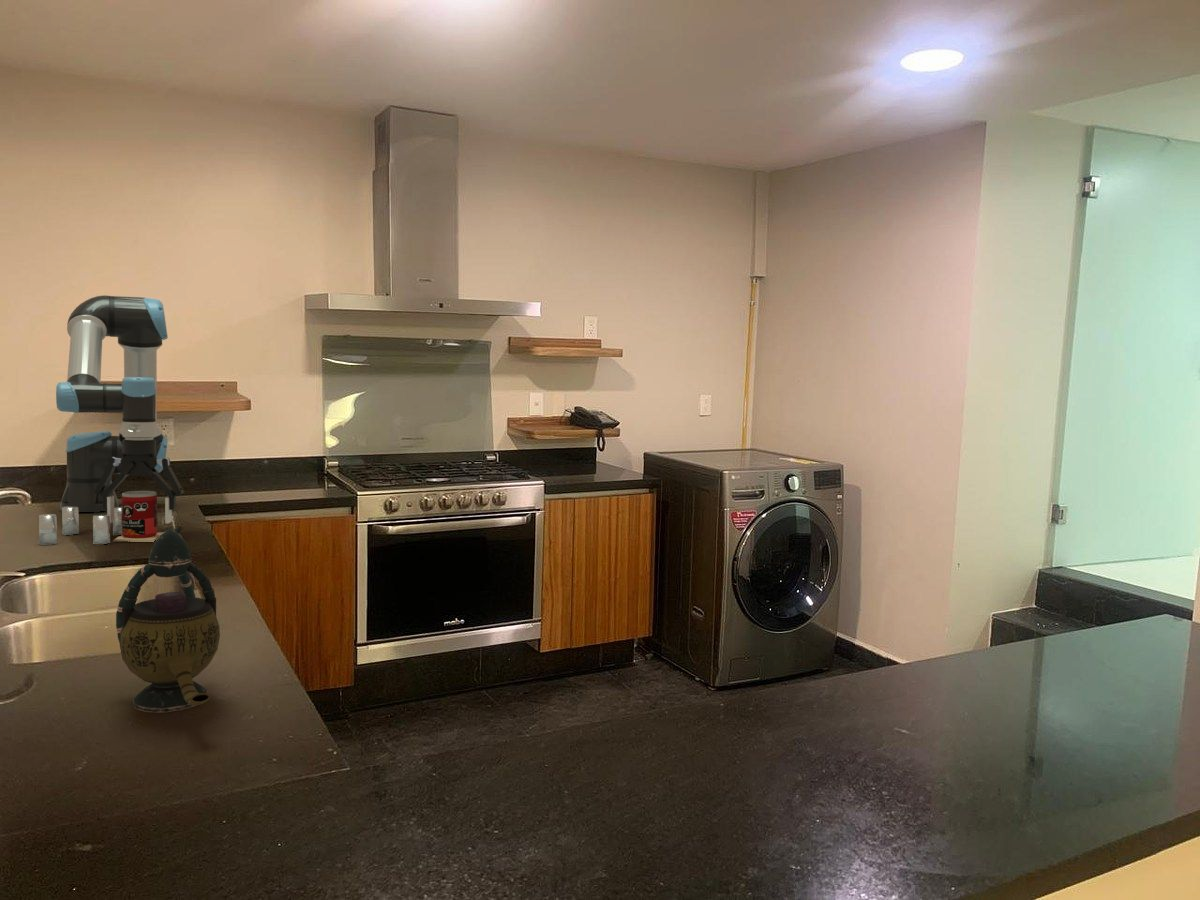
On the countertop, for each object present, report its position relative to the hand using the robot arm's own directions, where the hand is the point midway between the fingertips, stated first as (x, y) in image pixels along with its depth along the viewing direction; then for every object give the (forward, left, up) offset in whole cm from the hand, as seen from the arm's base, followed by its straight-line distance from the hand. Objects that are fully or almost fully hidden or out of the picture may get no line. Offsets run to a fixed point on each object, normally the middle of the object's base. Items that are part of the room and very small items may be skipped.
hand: (139, 522), depth 225 cm
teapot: (+119, +42, -4) cm, 126 cm away
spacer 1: (+7, -18, -4) cm, 20 cm away
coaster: (0, 0, -4) cm, 4 cm away
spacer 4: (-6, -6, -4) cm, 10 cm away
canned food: (0, 0, -4) cm, 4 cm away
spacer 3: (+7, -6, -4) cm, 10 cm away
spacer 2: (-6, -18, -4) cm, 20 cm away
